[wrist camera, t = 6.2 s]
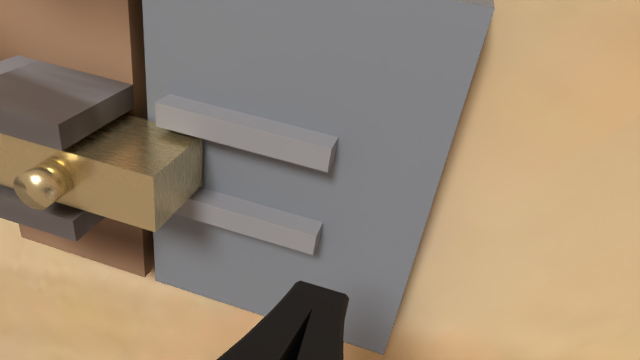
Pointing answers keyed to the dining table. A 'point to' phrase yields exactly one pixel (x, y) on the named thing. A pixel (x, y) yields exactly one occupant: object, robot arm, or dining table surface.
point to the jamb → (73, 109)
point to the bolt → (109, 172)
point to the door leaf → (308, 142)
